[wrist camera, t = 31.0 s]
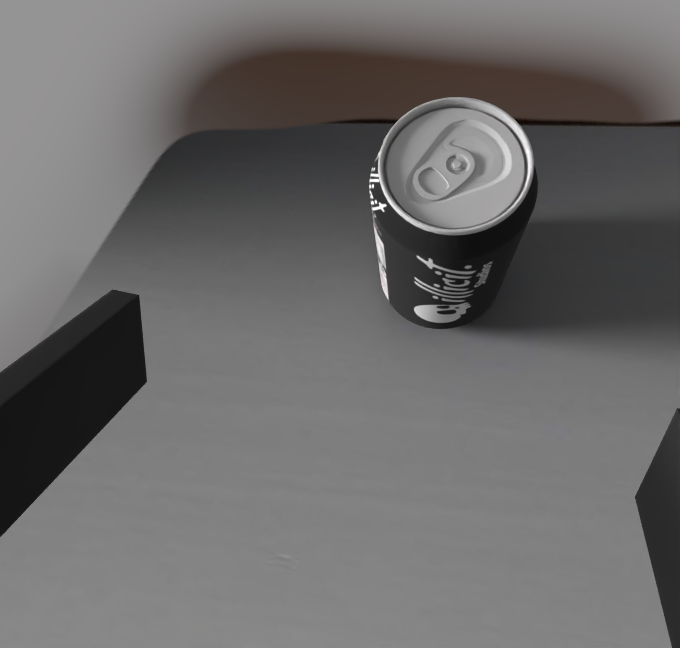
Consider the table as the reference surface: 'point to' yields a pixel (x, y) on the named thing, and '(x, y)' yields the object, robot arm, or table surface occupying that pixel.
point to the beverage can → (450, 208)
